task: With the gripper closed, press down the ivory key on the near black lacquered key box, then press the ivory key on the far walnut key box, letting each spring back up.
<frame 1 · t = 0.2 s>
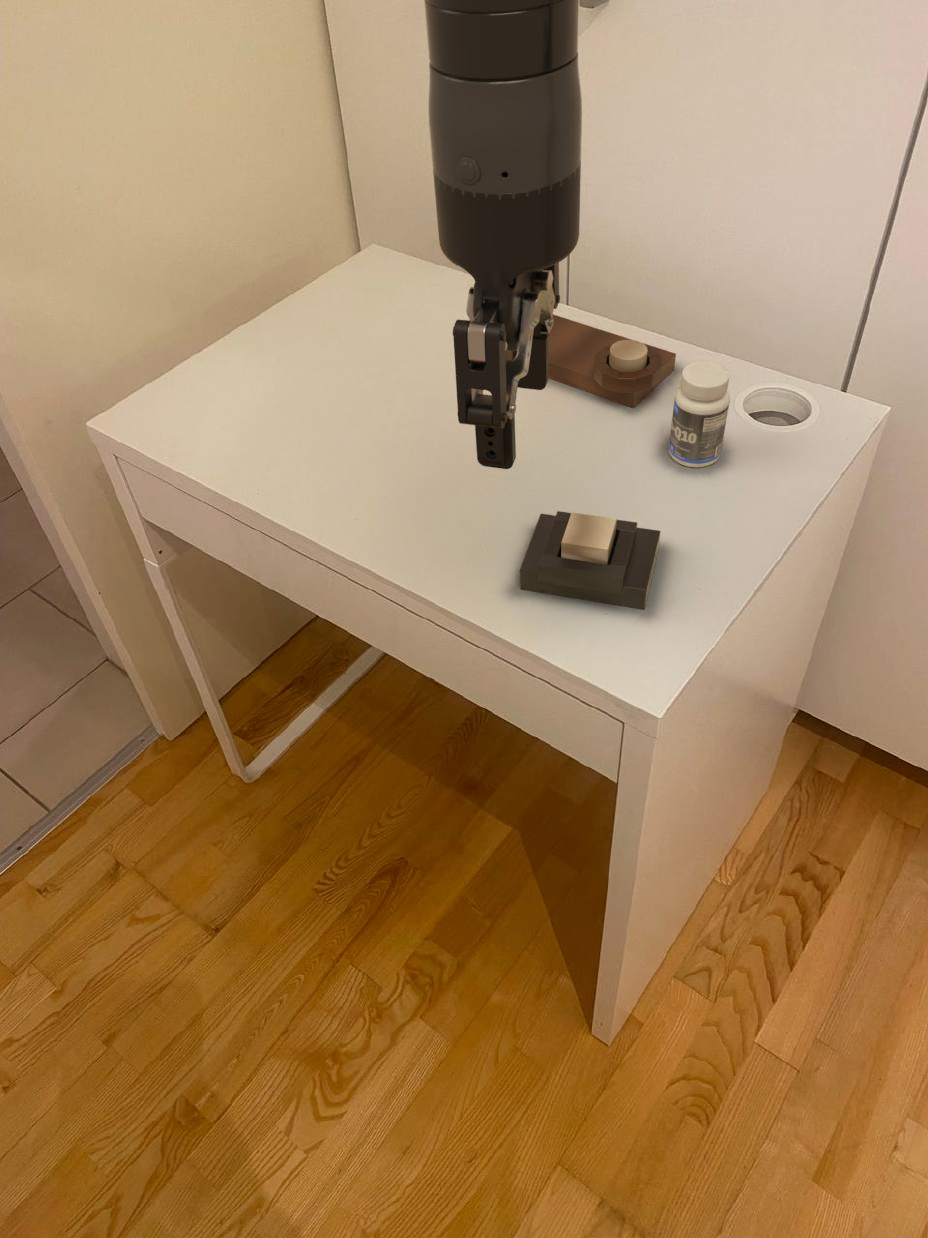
hand: (514, 423, 60), 19 cm above the table, tool pointing down, fingers open, 8 cm apart
far key: (628, 356, 92), point 4 cm above the table, slide at 0.1 cm
near key: (589, 538, 74), point 4 cm above the table, slide at 0.1 cm
pill bottle: (694, 454, 88), on the table
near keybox: (590, 569, 78), on the table
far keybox: (586, 365, 99), on the table
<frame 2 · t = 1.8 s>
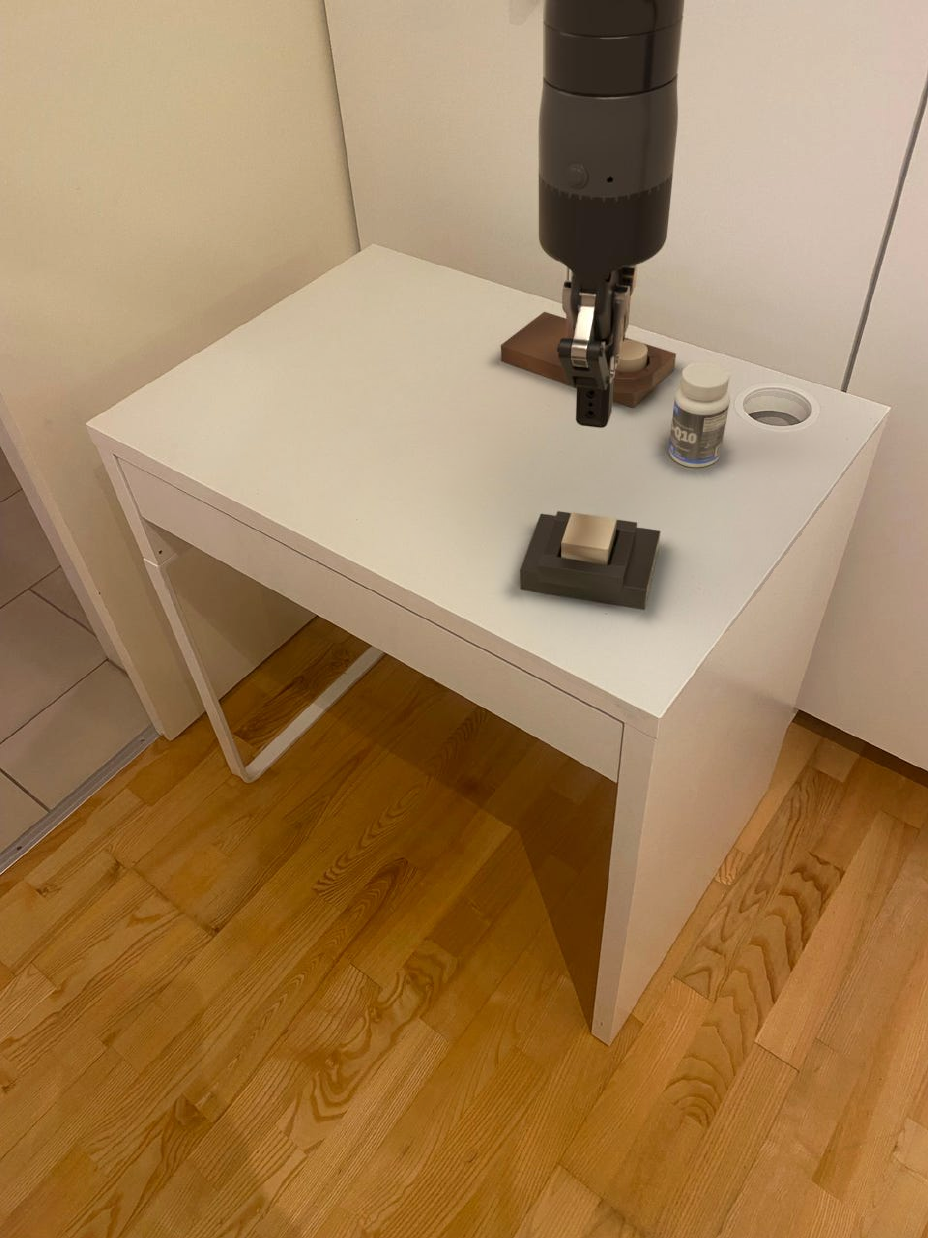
hand: (593, 420, 66), 15 cm above the table, tool pointing down, fingers closed
nothing on the table moved.
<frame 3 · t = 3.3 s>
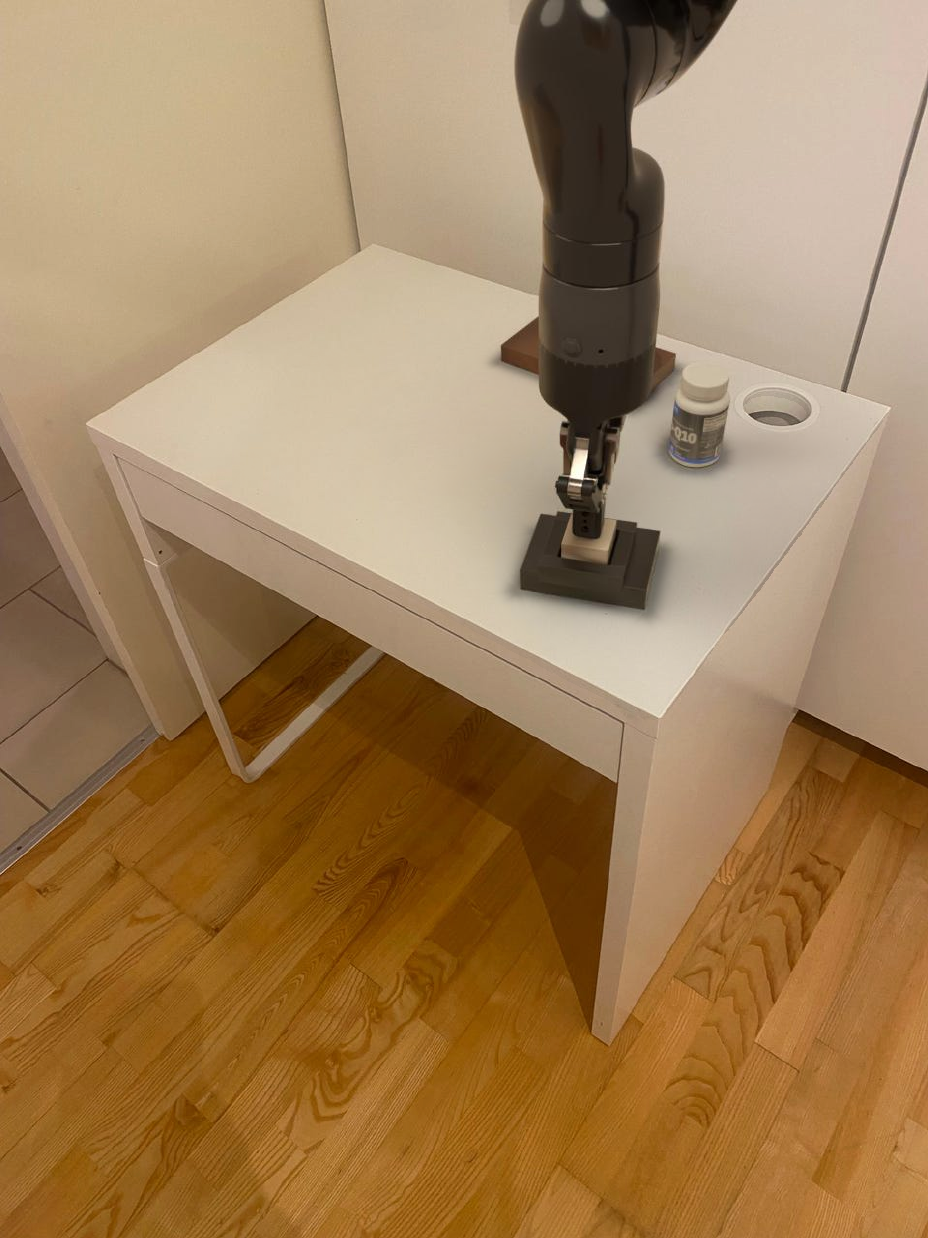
hand: (588, 531, 74), 5 cm above the table, tool pointing down, fingers closed
near key: (588, 539, 74), point 4 cm above the table, slide at 0.0 cm, touching gripper
everything else where it was.
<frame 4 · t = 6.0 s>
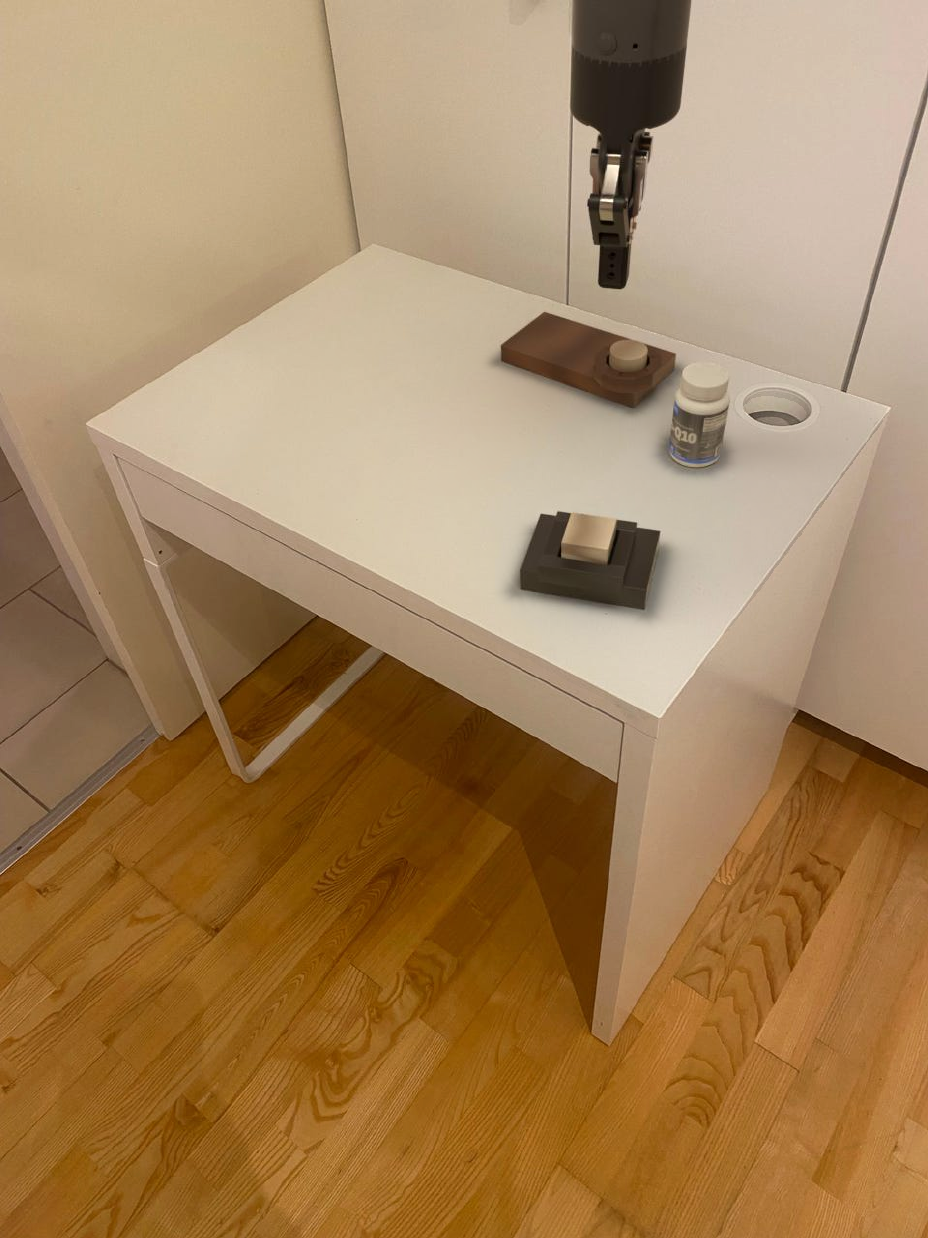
hand: (613, 283, 75), 17 cm above the table, tool pointing down, fingers closed
near key: (589, 538, 74), point 4 cm above the table, slide at 0.1 cm
everything else where it was.
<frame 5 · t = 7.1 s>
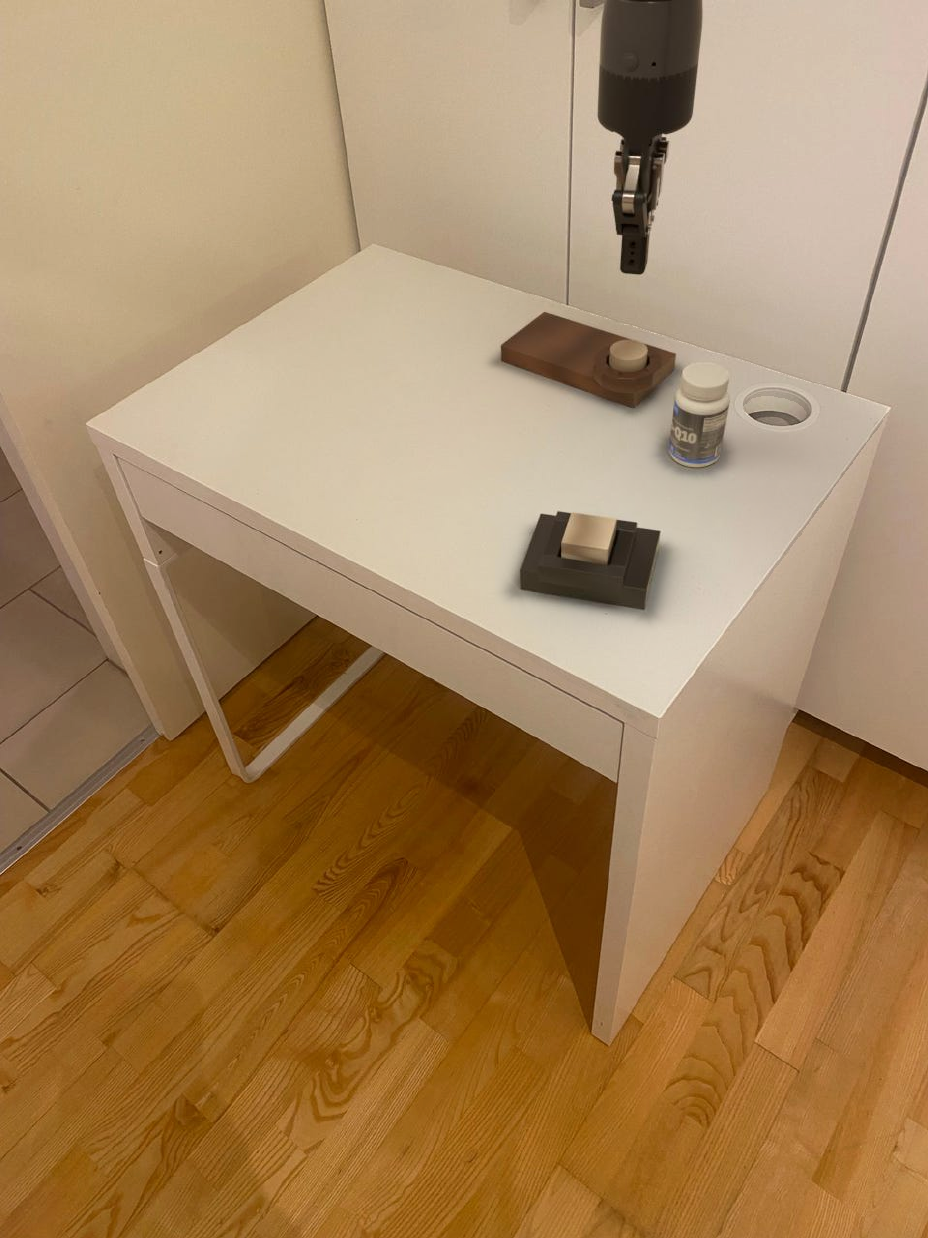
hand: (633, 269, 86), 13 cm above the table, tool pointing down, fingers closed
nothing on the table moved.
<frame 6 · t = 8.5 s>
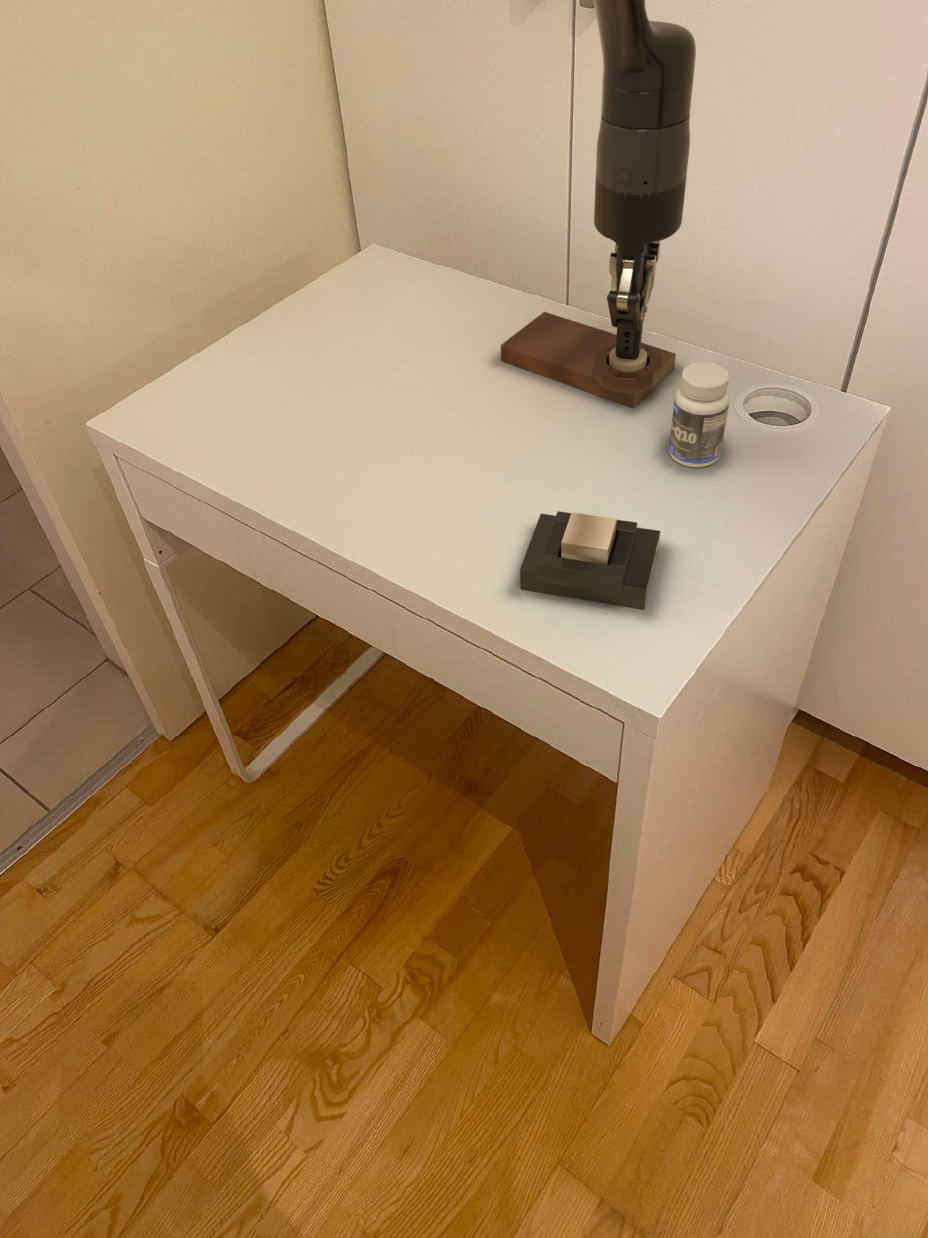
hand: (628, 354, 92), 4 cm above the table, tool pointing down, fingers closed
far key: (627, 361, 93), point 3 cm above the table, slide at -0.5 cm, touching gripper
everything else where it was.
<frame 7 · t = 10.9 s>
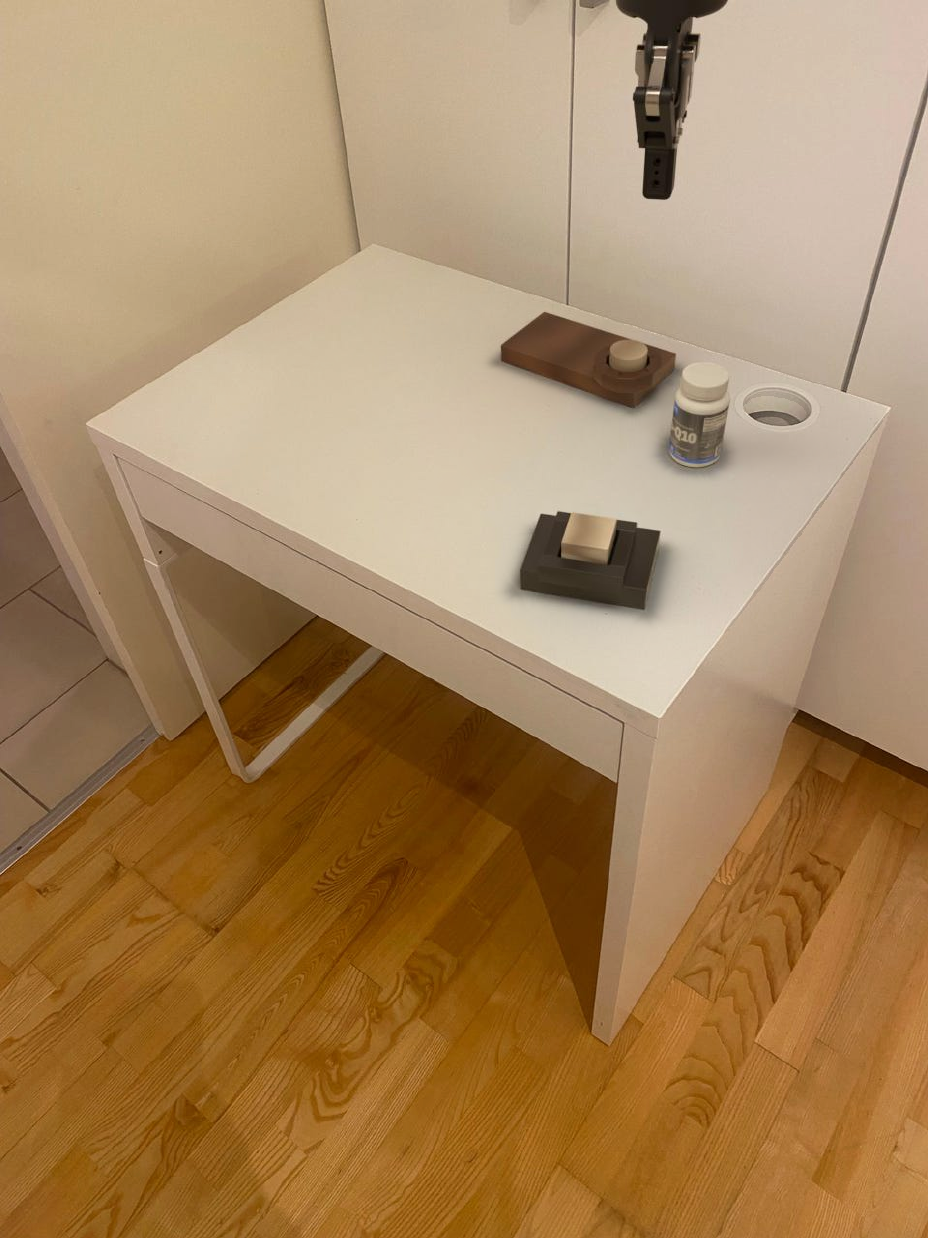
hand: (657, 194, 74), 22 cm above the table, tool pointing down, fingers closed
far key: (628, 356, 92), point 4 cm above the table, slide at 0.1 cm
everything else where it was.
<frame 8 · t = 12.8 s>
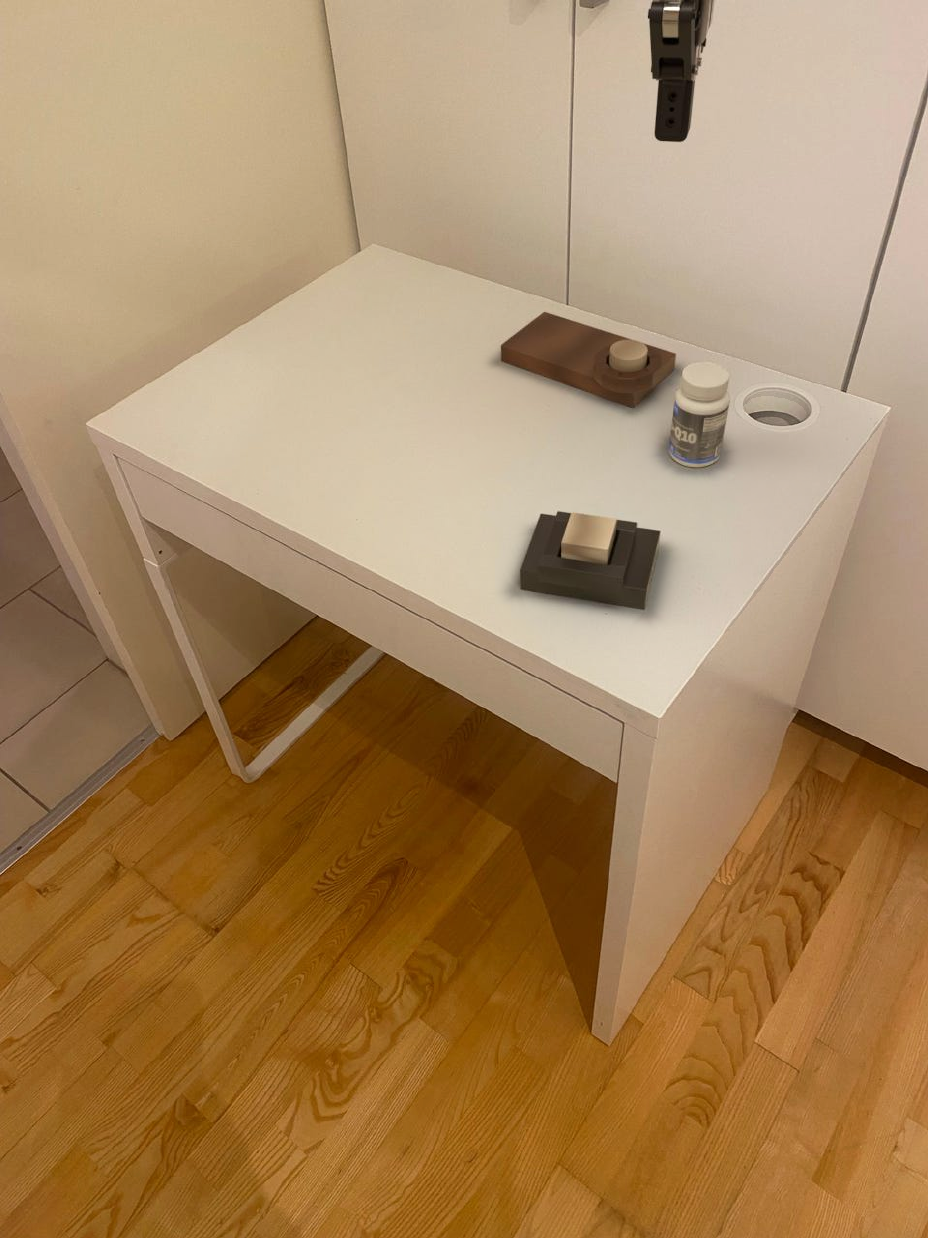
hand: (671, 136, 65), 29 cm above the table, tool pointing down, fingers closed
nothing on the table moved.
at the end: near key pushed in 1.1 cm at the most during the clip, back to where it started at the end; far key pushed in 0.9 cm at the most during the clip, back to where it started at the end; far key slide at 0.1 cm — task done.
